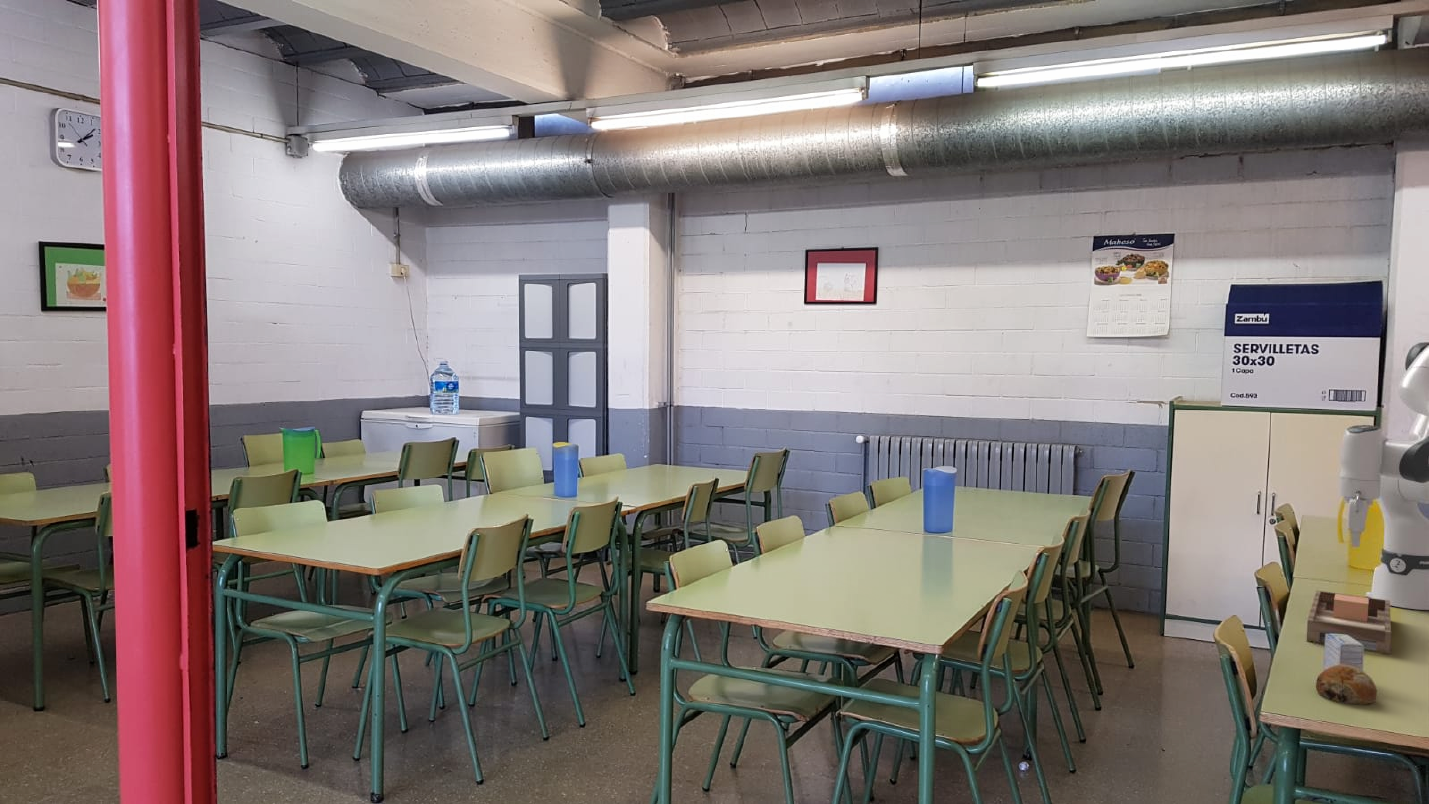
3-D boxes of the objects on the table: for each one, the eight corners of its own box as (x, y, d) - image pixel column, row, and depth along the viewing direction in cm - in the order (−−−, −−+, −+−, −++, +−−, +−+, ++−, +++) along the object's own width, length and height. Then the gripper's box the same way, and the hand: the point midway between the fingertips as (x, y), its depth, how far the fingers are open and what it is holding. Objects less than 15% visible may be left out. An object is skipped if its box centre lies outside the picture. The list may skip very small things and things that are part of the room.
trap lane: (1315, 609, 260) (1316, 590, 260) (1388, 620, 252) (1389, 600, 251) (1306, 641, 231) (1307, 619, 230) (1389, 654, 222) (1390, 632, 221)
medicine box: (1362, 688, 199) (1365, 645, 198) (1338, 685, 199) (1340, 643, 199) (1345, 675, 206) (1348, 634, 206) (1322, 673, 207) (1324, 632, 207)
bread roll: (1379, 724, 189) (1397, 686, 189) (1338, 703, 187) (1356, 665, 187) (1339, 705, 199) (1356, 669, 199) (1299, 685, 197) (1316, 649, 197)
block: (1334, 611, 249) (1335, 593, 248) (1367, 616, 245) (1368, 598, 245) (1333, 617, 243) (1334, 599, 243) (1367, 622, 239) (1368, 604, 239)
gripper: (1373, 495, 239) (1370, 552, 240) (1374, 487, 256) (1370, 540, 257) (1342, 493, 242) (1339, 549, 243) (1345, 484, 259) (1341, 537, 260)
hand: (1355, 544), depth 250 cm, fingers open, 5 cm apart
